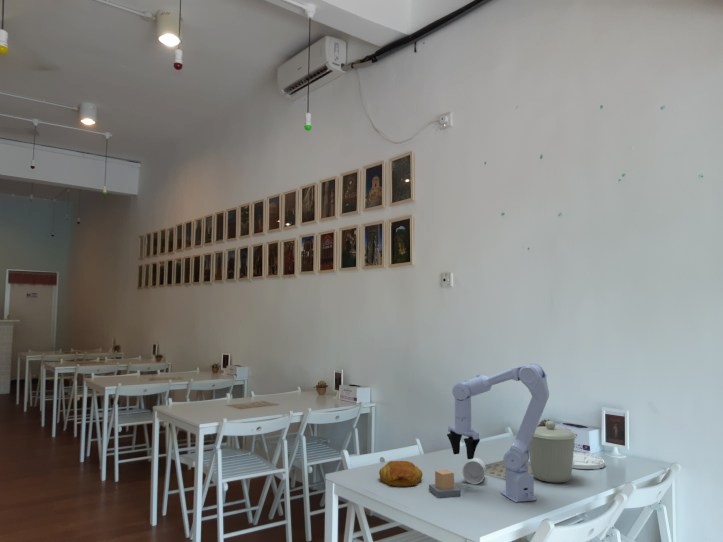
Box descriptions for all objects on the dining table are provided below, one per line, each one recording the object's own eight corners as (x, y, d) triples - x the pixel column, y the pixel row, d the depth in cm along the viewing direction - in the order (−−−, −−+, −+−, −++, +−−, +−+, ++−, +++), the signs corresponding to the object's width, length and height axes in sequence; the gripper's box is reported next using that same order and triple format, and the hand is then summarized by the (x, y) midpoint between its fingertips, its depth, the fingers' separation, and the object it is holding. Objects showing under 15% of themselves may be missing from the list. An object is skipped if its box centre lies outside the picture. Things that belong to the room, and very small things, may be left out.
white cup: (491, 473, 200) (488, 479, 191) (471, 481, 202) (468, 487, 193) (481, 452, 203) (478, 457, 193) (462, 460, 204) (458, 465, 195)
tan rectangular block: (453, 488, 181) (453, 472, 181) (442, 490, 179) (442, 474, 180) (446, 484, 185) (446, 469, 186) (435, 486, 183) (435, 470, 184)
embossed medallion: (542, 463, 224) (542, 455, 225) (570, 455, 236) (569, 448, 236) (587, 474, 208) (587, 466, 209) (614, 465, 220) (614, 458, 220)
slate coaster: (460, 496, 179) (460, 490, 179) (437, 498, 177) (438, 491, 177) (450, 488, 187) (450, 482, 187) (428, 490, 185) (428, 484, 185)
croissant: (382, 481, 202) (379, 459, 203) (423, 477, 201) (420, 454, 202) (378, 492, 188) (375, 468, 189) (423, 487, 186) (419, 464, 188)
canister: (582, 477, 202) (581, 420, 204) (570, 489, 187) (569, 427, 189) (534, 469, 212) (533, 414, 214) (519, 480, 198) (518, 421, 199)
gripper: (485, 419, 187) (486, 459, 186) (458, 412, 200) (458, 450, 198) (469, 421, 184) (470, 462, 182) (443, 414, 196) (443, 452, 195)
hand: (463, 456), depth 190 cm, fingers open, 7 cm apart
